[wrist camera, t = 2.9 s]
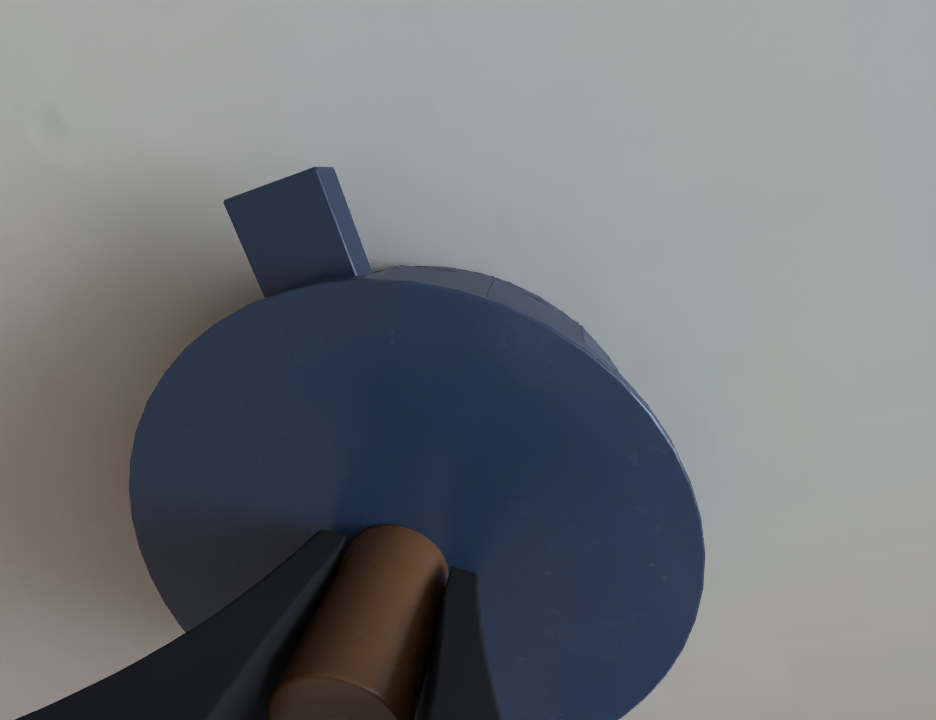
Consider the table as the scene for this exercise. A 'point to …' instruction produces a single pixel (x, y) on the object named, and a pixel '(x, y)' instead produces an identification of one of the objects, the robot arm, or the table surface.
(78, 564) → the table surface
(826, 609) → the table surface
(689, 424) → the table surface
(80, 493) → the table surface
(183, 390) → the pan lid
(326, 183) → the pan
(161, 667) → the robot arm
